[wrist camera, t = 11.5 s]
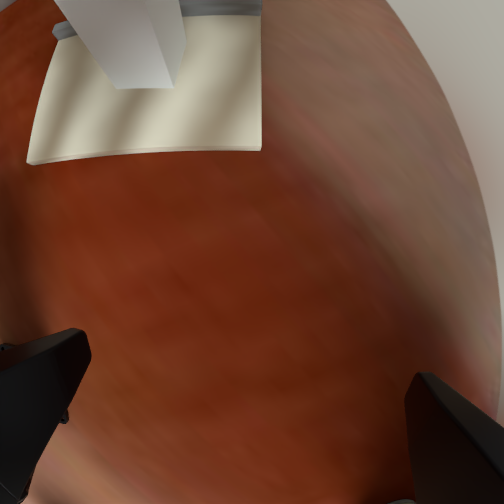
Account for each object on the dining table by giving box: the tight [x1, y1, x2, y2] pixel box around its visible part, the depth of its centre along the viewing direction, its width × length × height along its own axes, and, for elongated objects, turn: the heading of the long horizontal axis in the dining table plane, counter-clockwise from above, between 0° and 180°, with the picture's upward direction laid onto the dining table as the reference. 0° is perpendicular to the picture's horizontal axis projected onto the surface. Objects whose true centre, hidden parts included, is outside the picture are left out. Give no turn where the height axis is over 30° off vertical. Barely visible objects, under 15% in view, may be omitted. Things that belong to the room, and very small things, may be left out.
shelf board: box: [27, 0, 262, 165], centre depth 18 cm, size 18×13×2 cm
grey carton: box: [54, 0, 187, 89], centre depth 12 cm, size 5×4×12 cm
